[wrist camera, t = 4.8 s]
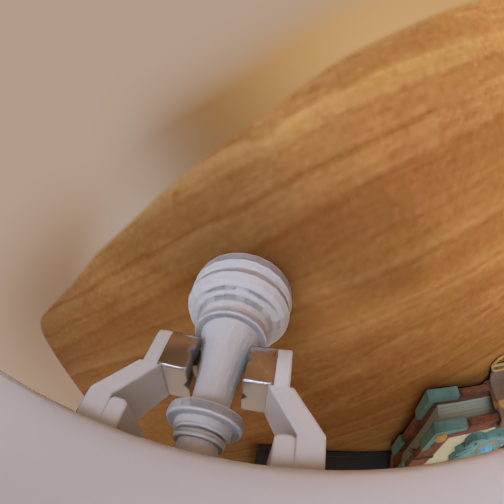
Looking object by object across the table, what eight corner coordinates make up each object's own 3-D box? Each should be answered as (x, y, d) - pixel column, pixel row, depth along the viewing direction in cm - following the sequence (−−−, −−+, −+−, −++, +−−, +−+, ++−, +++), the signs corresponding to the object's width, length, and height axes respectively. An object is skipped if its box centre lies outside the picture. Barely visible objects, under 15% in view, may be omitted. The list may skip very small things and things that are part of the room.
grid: (249, 492, 33) (245, 513, 30) (258, 444, 23) (251, 477, 20) (379, 497, 31) (379, 517, 28) (448, 445, 21) (453, 474, 18)
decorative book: (521, 421, 18) (531, 456, 14) (385, 449, 22) (386, 495, 17) (585, 332, 12) (608, 371, 8) (436, 360, 15) (454, 426, 11)
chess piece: (212, 330, 15) (144, 516, 7) (184, 256, 13) (60, 465, 5) (298, 326, 14) (274, 541, 6) (284, 244, 12) (236, 520, 4)
